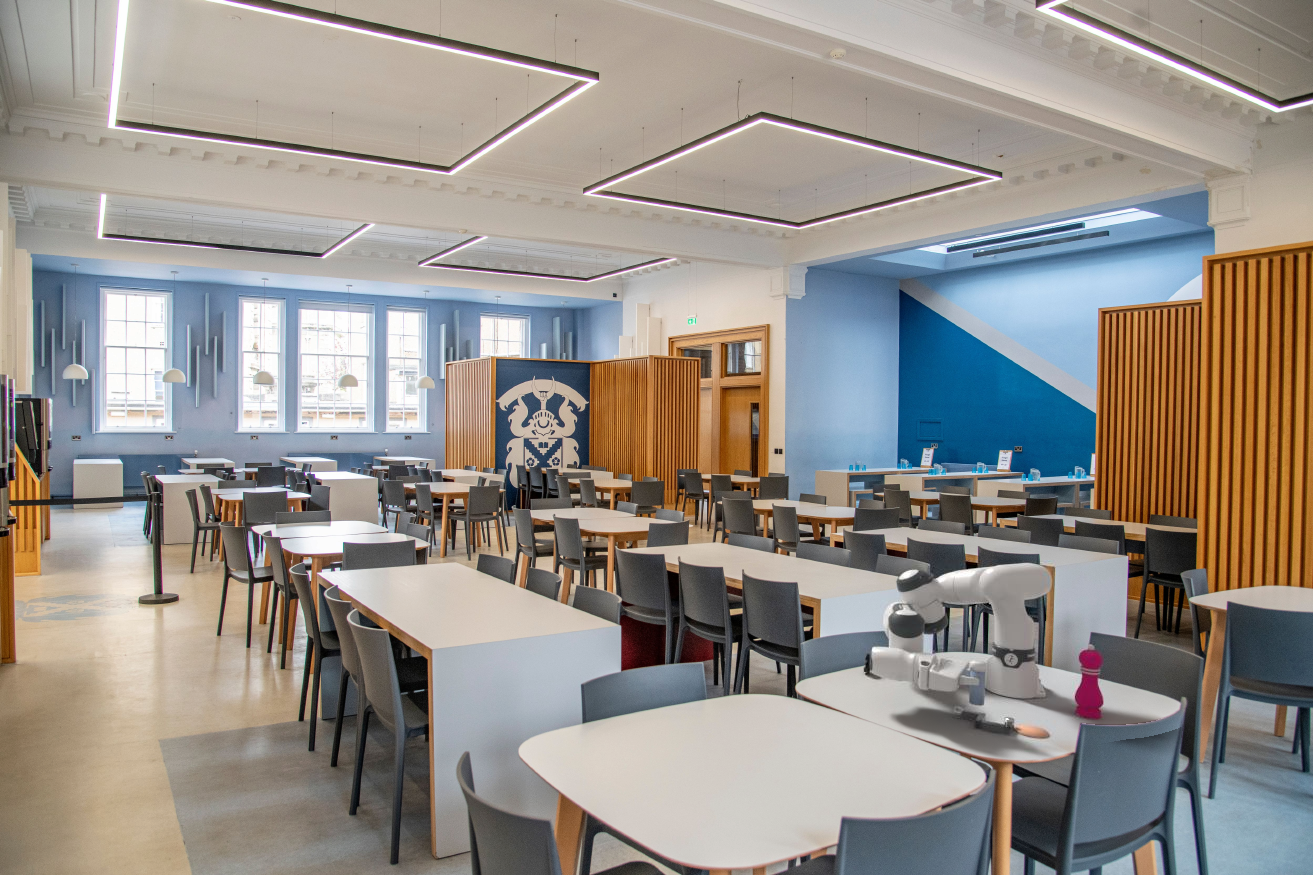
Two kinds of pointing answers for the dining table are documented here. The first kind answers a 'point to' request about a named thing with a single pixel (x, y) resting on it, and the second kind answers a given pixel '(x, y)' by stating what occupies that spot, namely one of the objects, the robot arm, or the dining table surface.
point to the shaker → (979, 691)
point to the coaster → (1031, 731)
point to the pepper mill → (1089, 685)
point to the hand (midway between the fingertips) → (981, 679)
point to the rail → (983, 724)
